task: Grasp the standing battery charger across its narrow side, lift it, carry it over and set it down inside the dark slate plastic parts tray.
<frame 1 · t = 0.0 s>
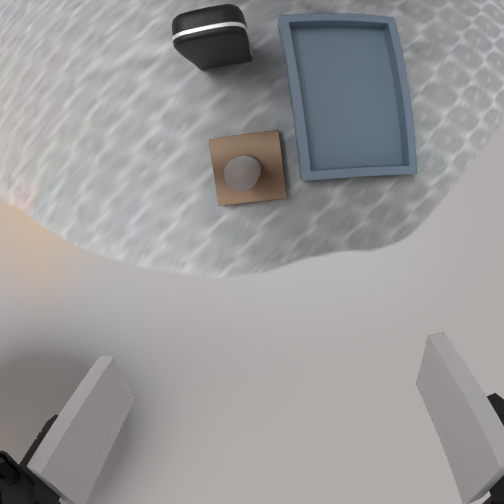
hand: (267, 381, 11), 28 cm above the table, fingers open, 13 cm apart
parts tray: (347, 93, 31), on the table
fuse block: (248, 167, 36), on the table
battery charger: (224, 53, 31), on the table
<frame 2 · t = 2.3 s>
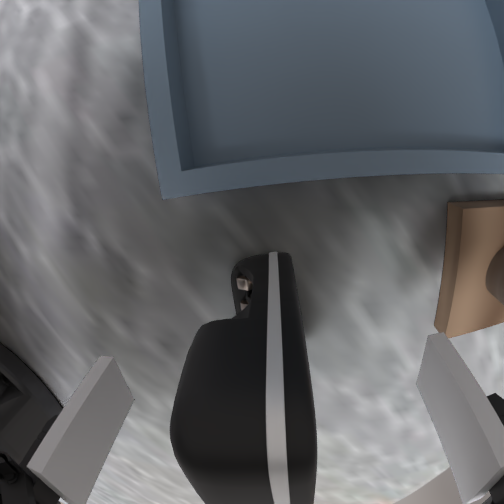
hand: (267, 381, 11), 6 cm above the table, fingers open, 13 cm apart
parts tray: (364, 35, 11), on the table
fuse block: (489, 261, 15), on the table
battery charger: (260, 306, 17), on the table
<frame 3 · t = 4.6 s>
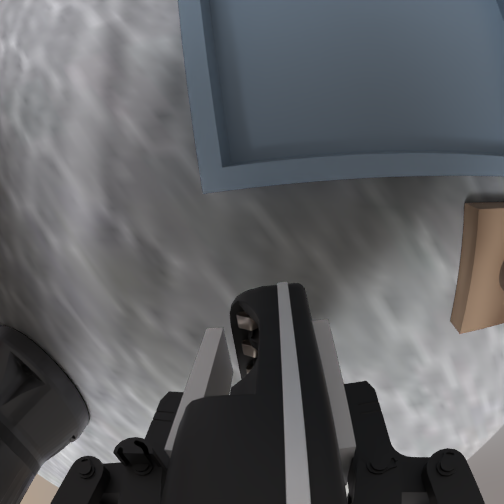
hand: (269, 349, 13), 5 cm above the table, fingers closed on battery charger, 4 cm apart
parts tray: (388, 43, 12), on the table
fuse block: (503, 260, 15), on the table
battery charger: (265, 343, 14), point 4 cm above the table, touching gripper
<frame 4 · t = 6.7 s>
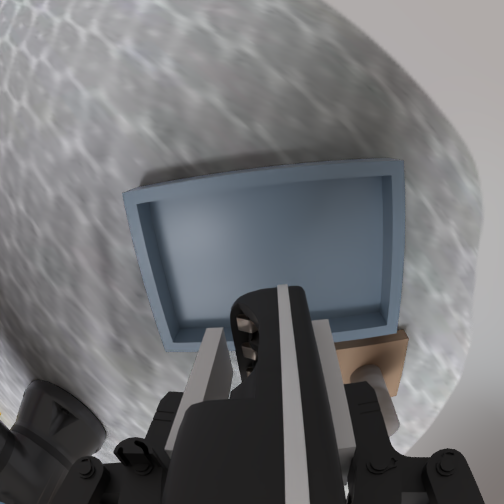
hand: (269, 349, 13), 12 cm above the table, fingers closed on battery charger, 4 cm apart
parts tray: (271, 255, 24), on the table
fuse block: (362, 366, 28), on the table
battery charger: (265, 345, 14), point 12 cm above the table, touching gripper
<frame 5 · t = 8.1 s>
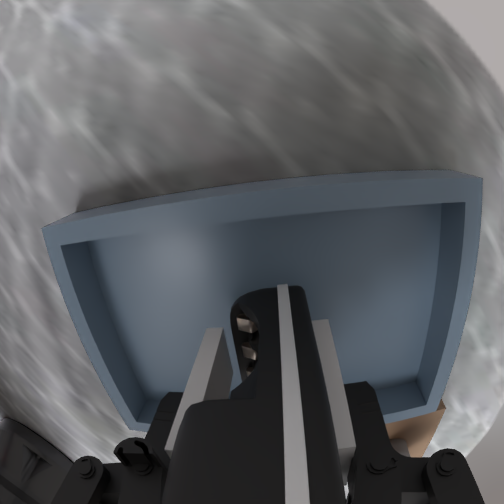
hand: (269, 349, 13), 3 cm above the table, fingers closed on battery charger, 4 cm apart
parts tray: (269, 315, 16), on the table
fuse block: (383, 435, 19), on the table
battery charger: (265, 344, 14), point 2 cm above the table, touching gripper
when the fingers open (2 cm above the table, at t = 8.9 s): battery charger stays where it is, resting on parts tray.
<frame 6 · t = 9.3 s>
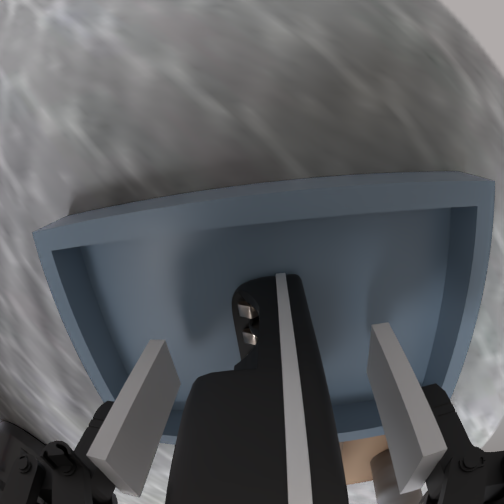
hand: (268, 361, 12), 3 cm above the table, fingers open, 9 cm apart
parts tray: (270, 323, 15), on the table
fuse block: (386, 442, 19), on the table
battery charger: (264, 332, 15), point 1 cm above the table, touching parts tray
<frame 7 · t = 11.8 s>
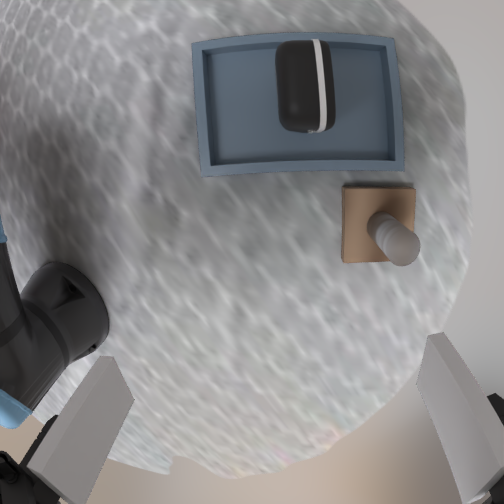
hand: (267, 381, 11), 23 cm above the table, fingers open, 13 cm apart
parts tray: (299, 102, 28), on the table
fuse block: (376, 222, 31), on the table
battery charger: (297, 102, 27), point 1 cm above the table, touching parts tray
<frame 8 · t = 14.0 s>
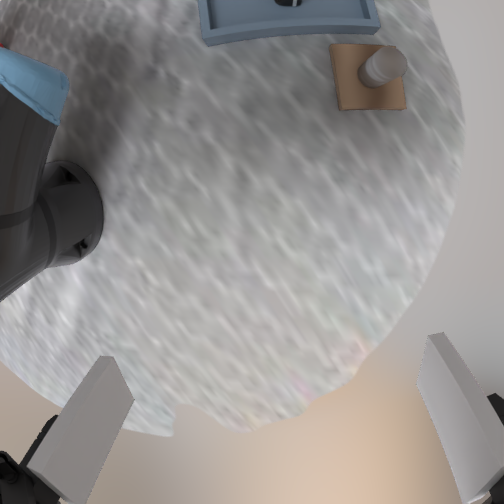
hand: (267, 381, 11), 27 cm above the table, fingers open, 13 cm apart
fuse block: (366, 78, 29), on the table
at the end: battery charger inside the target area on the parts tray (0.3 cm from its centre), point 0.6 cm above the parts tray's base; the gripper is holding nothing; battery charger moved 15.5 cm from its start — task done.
